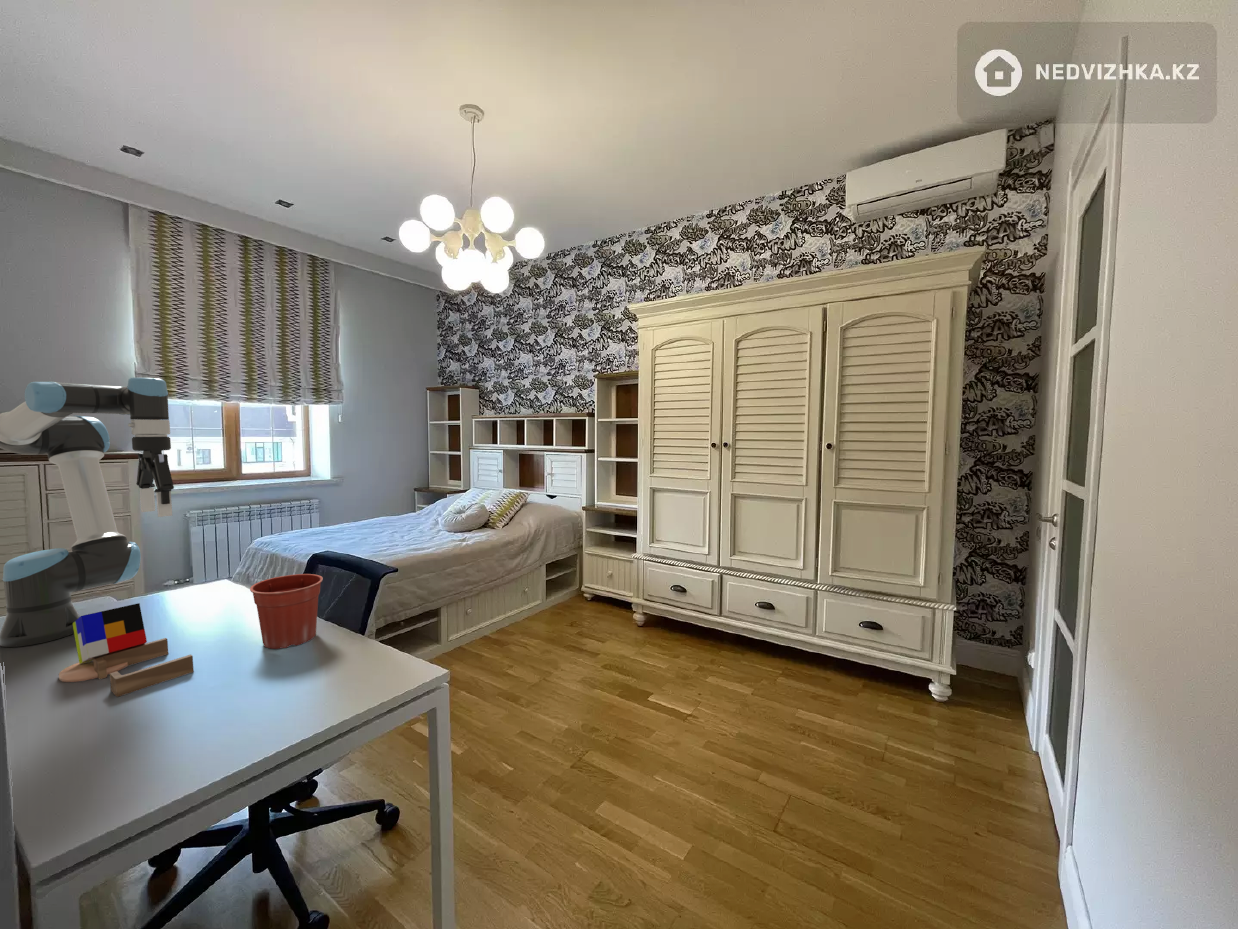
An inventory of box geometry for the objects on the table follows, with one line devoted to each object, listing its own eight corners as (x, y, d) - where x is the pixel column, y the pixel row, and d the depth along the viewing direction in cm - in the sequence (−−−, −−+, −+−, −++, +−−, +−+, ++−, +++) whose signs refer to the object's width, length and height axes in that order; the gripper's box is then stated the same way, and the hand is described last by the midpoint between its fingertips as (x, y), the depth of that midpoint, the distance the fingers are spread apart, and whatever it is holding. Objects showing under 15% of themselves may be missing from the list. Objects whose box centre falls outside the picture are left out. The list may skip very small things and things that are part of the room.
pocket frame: (94, 674, 115) (92, 657, 115) (166, 652, 126) (165, 637, 125) (117, 697, 105) (115, 679, 105) (193, 671, 116) (192, 655, 116)
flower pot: (328, 642, 132) (326, 584, 131) (253, 659, 122) (249, 597, 121) (321, 623, 145) (319, 570, 144) (252, 637, 135) (249, 580, 134)
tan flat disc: (53, 673, 115) (53, 669, 115) (124, 653, 125) (123, 649, 125) (65, 687, 109) (65, 683, 109) (139, 665, 119) (138, 661, 119)
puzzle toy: (88, 658, 112) (81, 615, 114) (79, 664, 118) (72, 623, 119) (146, 642, 121) (139, 603, 122) (136, 648, 126) (128, 610, 127)
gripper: (118, 435, 134) (123, 511, 136) (147, 436, 121) (153, 520, 123) (154, 435, 141) (159, 507, 142) (186, 436, 128) (191, 516, 129)
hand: (156, 513), depth 133 cm, fingers open, 13 cm apart
